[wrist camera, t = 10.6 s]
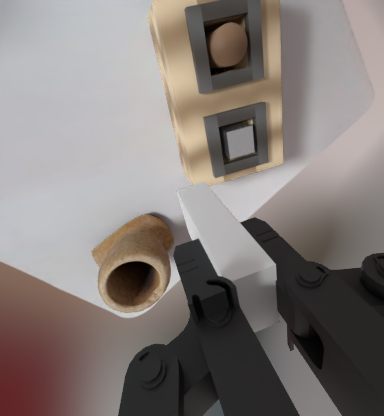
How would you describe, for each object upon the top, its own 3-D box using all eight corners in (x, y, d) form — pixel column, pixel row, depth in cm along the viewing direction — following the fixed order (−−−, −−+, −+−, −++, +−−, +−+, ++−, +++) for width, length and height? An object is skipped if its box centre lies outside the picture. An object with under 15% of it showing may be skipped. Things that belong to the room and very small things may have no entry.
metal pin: (205, 123, 39) (226, 132, 31) (226, 117, 39) (252, 125, 31) (209, 145, 41) (230, 159, 33) (229, 139, 41) (254, 152, 33)
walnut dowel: (190, 40, 33) (210, 26, 26) (217, 34, 34) (245, 19, 26) (196, 73, 35) (216, 69, 28) (221, 66, 36) (248, 61, 28)
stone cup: (143, 195, 42) (151, 243, 29) (179, 239, 48) (200, 295, 35) (73, 243, 43) (51, 311, 30) (117, 280, 49) (115, 351, 36)
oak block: (147, 17, 32) (155, -6, 24) (246, -3, 33) (284, -31, 25) (184, 173, 42) (197, 192, 34) (257, 151, 44) (287, 166, 36)
